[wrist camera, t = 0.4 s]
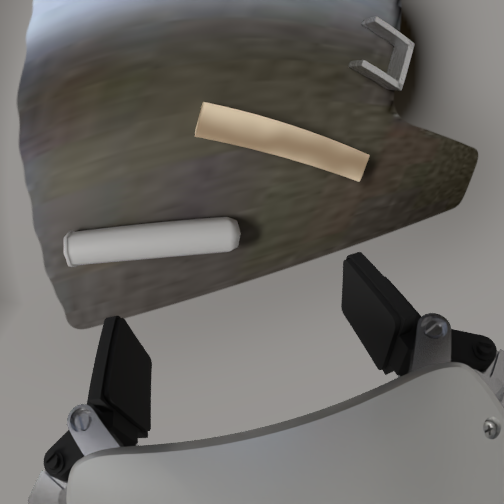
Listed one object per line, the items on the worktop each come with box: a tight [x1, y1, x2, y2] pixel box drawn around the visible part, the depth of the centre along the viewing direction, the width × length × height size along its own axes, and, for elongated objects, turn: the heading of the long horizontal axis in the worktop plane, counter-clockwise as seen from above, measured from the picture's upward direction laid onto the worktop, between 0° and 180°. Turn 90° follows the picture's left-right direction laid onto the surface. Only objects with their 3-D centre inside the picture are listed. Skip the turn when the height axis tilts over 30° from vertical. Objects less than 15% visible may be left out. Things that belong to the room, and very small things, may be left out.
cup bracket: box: [348, 16, 414, 91], centre depth 27 cm, size 9×8×4 cm
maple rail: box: [195, 102, 370, 182], centre depth 32 cm, size 4×22×5 cm, turn 74°
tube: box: [64, 217, 241, 267], centre depth 36 cm, size 5×5×25 cm
